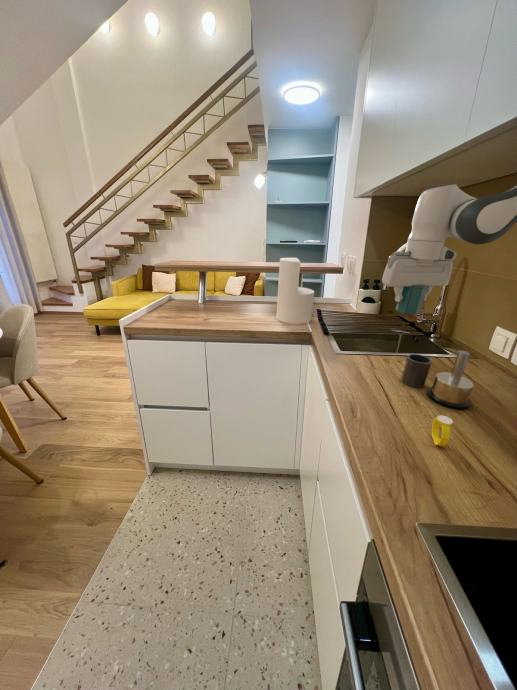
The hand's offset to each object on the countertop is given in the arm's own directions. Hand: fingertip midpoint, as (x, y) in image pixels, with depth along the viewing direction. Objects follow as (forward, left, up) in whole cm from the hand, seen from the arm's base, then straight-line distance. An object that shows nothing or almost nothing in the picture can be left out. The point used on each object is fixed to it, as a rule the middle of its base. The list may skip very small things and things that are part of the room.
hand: (410, 301), depth 82 cm
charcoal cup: (-4, +8, -23) cm, 24 cm away
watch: (-2, +34, -23) cm, 41 cm away
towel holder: (-11, +15, -23) cm, 29 cm away
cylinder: (+37, -45, -23) cm, 63 cm away
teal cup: (0, 0, -3) cm, 3 cm away
